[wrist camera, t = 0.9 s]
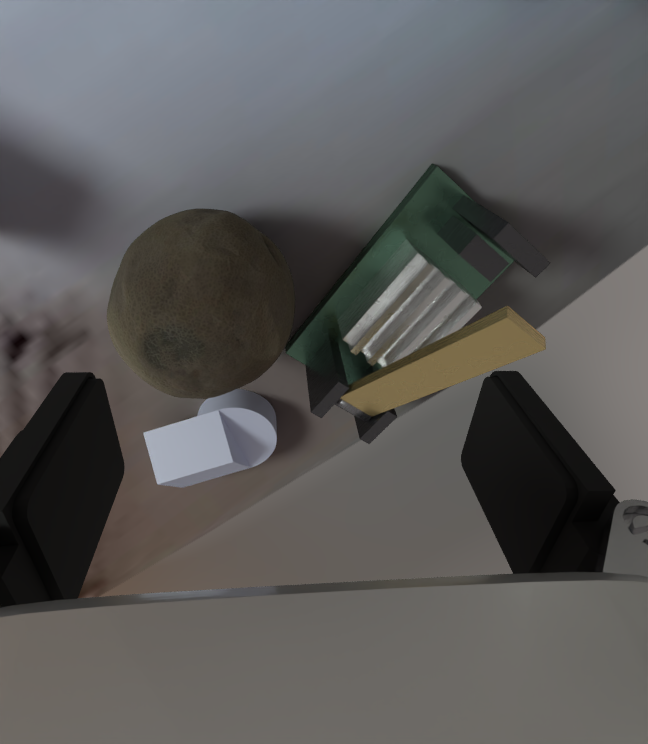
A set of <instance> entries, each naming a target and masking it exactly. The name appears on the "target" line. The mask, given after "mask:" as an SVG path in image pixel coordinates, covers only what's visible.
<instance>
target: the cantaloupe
mask: <svg viewBox="0 0 648 744" xmlns="http://www.w3.org/2000/svg"><path fill="white" fill-rule="evenodd" d="M294 311H295V292H294V285H293V280H292V276H291V273H290V270H289V268H288V265H287V263H286V260H285V258H284V257H283V255H282V253H281V252H280V250H279V249H278V248H277V246H276V245H275V244H274V243H273V242H272V241H271V240H270V239H269V238H268V237H267V236H265V235H264V234H263V233H261V232H260V231H259V230H257V229H256V228H255V227H254V226H252V225H251V224H250V223H248V222H247V221H246V220H244V219H242V218H240V217H239V216H237V215H235V214H233V213H231V212H228V211H223V210H214V209H191V210H186V211H182V212H179V213H176V214H173V215H170V216H168V217H165V218H163V219H161V220H159V221H158V222H156V223H155V224H154V225H152V226H151V227H150V228H148V229H147V230H146V231H144V232H143V233H142V234H141V235H140V236H139V237H138V238H137V239H135V241H134V242H133V243H132V244H131V245H130V247H129V248H128V250H127V251H126V253H125V255H124V257H123V259H122V262H121V265H120V267H119V270H118V272H117V274H116V277H115V279H114V282H113V286H112V290H111V294H110V299H109V303H108V309H107V322H108V329H109V333H110V336H111V339H112V342H113V344H114V346H115V348H116V350H117V352H118V353H119V355H120V356H121V357H122V359H123V360H124V361H125V362H126V363H127V365H128V366H129V367H130V368H131V369H132V370H133V371H134V372H135V373H136V374H137V375H138V376H139V377H140V378H142V379H143V380H144V381H145V382H147V383H148V384H150V385H151V386H153V387H154V388H156V389H158V390H160V391H162V392H164V393H166V394H169V395H172V396H175V397H181V398H197V399H207V398H213V397H217V396H221V395H223V394H226V393H228V392H231V391H233V390H235V389H237V388H240V387H242V386H244V385H246V384H248V383H250V382H252V381H254V380H256V379H257V378H259V377H260V376H261V375H262V374H263V373H264V372H266V371H267V370H268V369H269V368H270V367H271V366H272V365H273V363H274V362H275V361H276V360H277V358H278V357H279V355H280V354H281V352H282V351H283V349H284V347H285V346H286V344H287V341H288V339H289V336H290V333H291V329H292V326H293V320H294Z"/></svg>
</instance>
